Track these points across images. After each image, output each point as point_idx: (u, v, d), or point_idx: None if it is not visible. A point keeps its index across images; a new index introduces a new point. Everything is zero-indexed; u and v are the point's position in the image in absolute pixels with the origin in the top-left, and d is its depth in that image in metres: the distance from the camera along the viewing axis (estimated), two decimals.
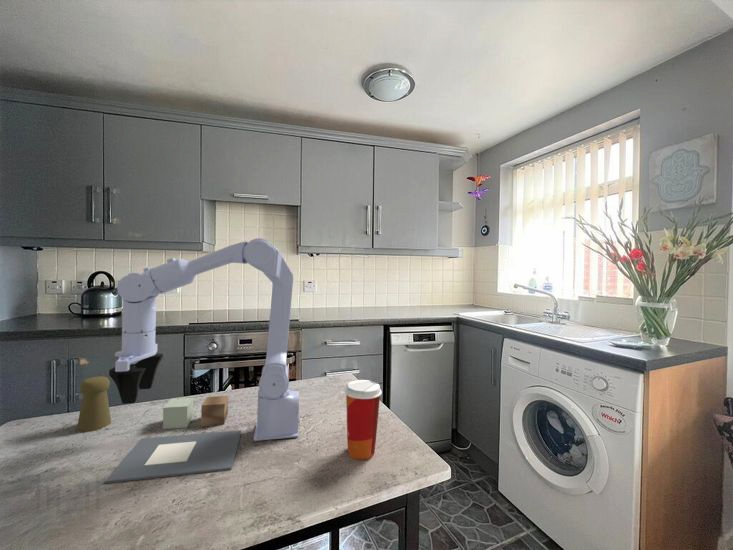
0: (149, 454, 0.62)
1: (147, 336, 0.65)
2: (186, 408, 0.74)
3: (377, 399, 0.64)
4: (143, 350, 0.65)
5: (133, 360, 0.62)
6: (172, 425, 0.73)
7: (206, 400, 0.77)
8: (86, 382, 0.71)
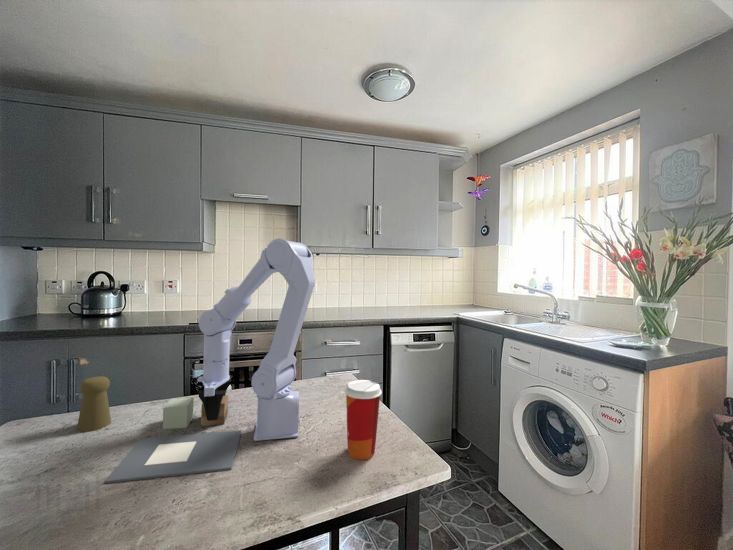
0: (149, 454, 0.62)
1: (224, 364, 0.76)
2: (186, 408, 0.74)
3: (377, 399, 0.64)
4: (221, 376, 0.76)
5: (216, 386, 0.73)
6: (172, 425, 0.73)
7: None
8: (86, 382, 0.71)
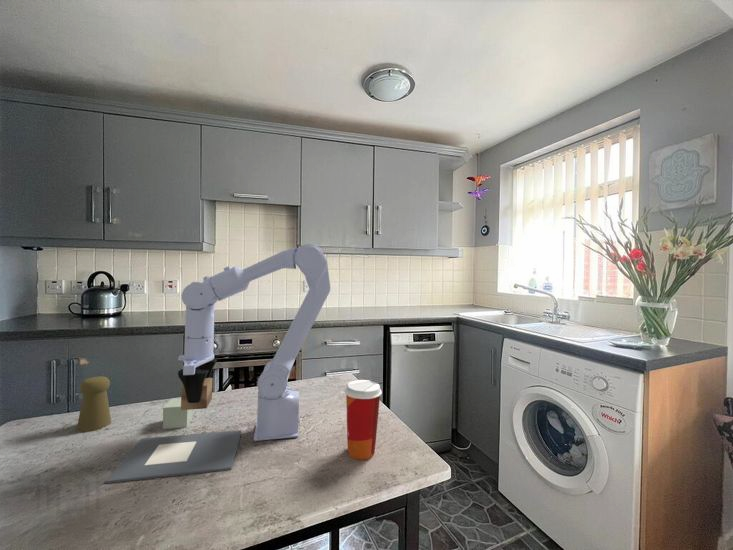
0: (149, 454, 0.62)
1: (208, 341, 0.69)
2: None
3: (377, 399, 0.64)
4: (204, 355, 0.69)
5: (198, 364, 0.65)
6: (172, 425, 0.73)
7: None
8: (86, 382, 0.71)
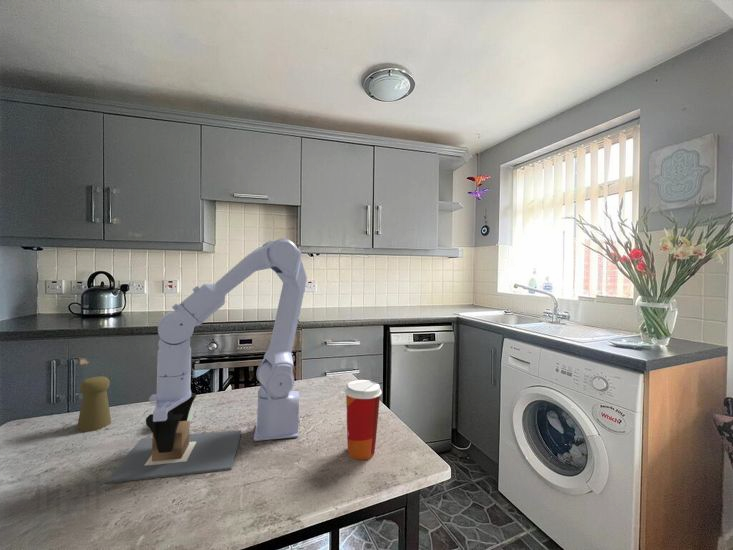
0: (149, 454, 0.62)
1: (183, 379, 0.62)
2: None
3: (377, 399, 0.64)
4: (179, 395, 0.61)
5: (171, 407, 0.58)
6: None
7: None
8: (86, 382, 0.71)
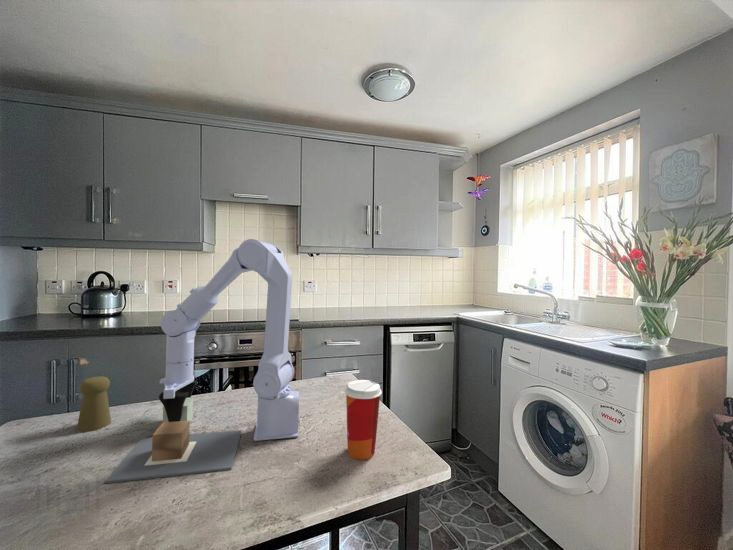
0: (149, 454, 0.62)
1: (187, 365, 0.74)
2: (186, 408, 0.74)
3: (377, 399, 0.64)
4: (184, 378, 0.74)
5: (177, 388, 0.71)
6: None
7: (160, 427, 0.63)
8: (86, 382, 0.71)
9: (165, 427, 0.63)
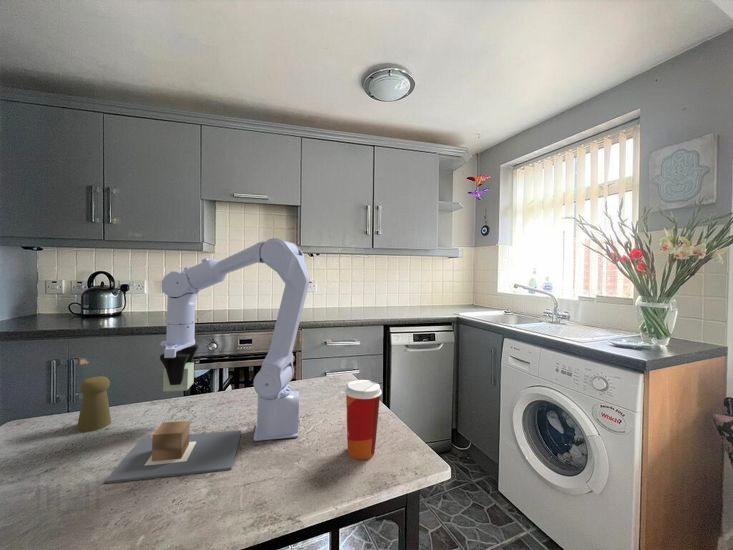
0: (149, 454, 0.62)
1: (188, 327, 0.74)
2: (186, 370, 0.73)
3: (377, 399, 0.64)
4: (185, 340, 0.73)
5: (178, 348, 0.70)
6: (172, 387, 0.73)
7: (160, 427, 0.63)
8: (86, 382, 0.71)
9: (165, 427, 0.63)
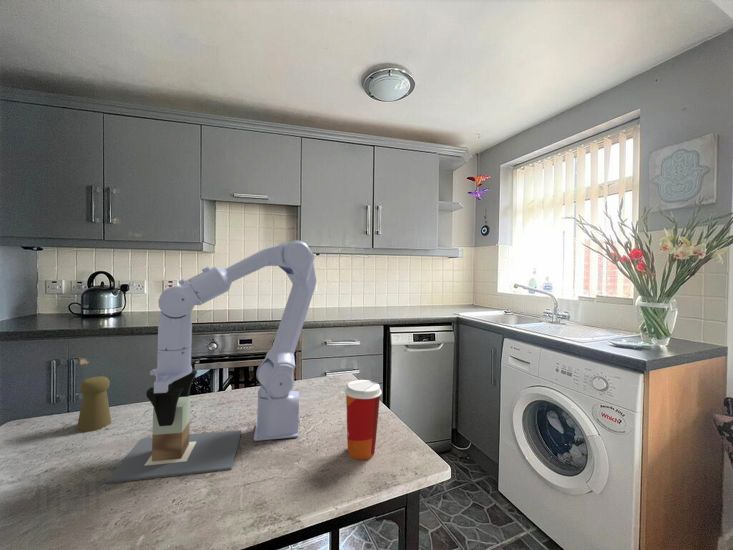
0: (149, 454, 0.62)
1: (184, 353, 0.61)
2: (181, 409, 0.61)
3: (377, 399, 0.64)
4: (179, 369, 0.61)
5: (171, 380, 0.58)
6: (164, 430, 0.60)
7: None
8: (86, 382, 0.71)
9: None
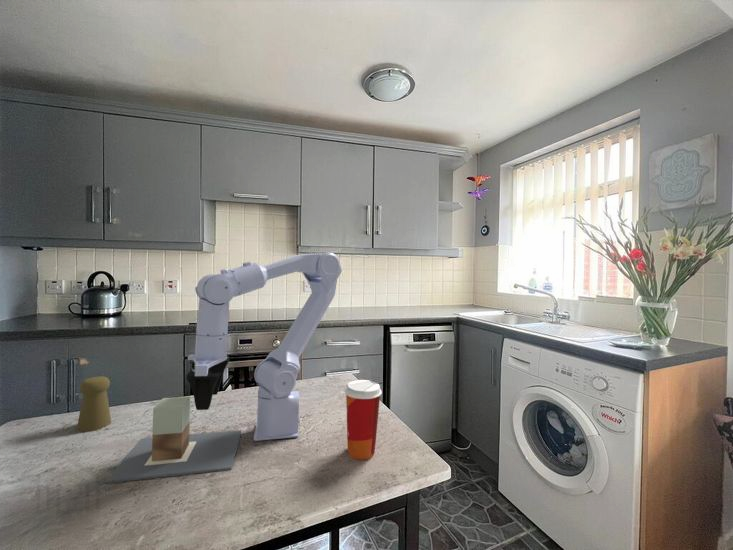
0: (149, 454, 0.62)
1: (221, 340, 0.63)
2: (181, 409, 0.61)
3: (377, 399, 0.64)
4: (217, 354, 0.62)
5: (211, 364, 0.59)
6: (164, 430, 0.60)
7: None
8: (86, 382, 0.71)
9: None
